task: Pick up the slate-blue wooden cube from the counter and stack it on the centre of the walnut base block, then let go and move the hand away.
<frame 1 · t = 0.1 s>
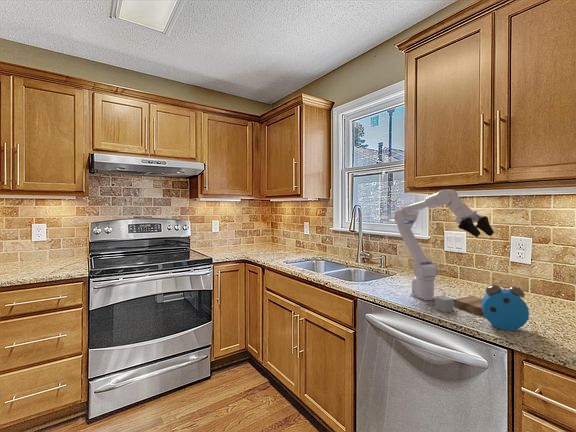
hand: (485, 234, 118), 32 cm above the countertop, tool tilted 50°, fingers open, 7 cm apart
walnut base: (476, 308, 129), on the countertop
slate cube: (444, 309, 129), on the countertop
alarm clock: (503, 328, 110), on the countertop
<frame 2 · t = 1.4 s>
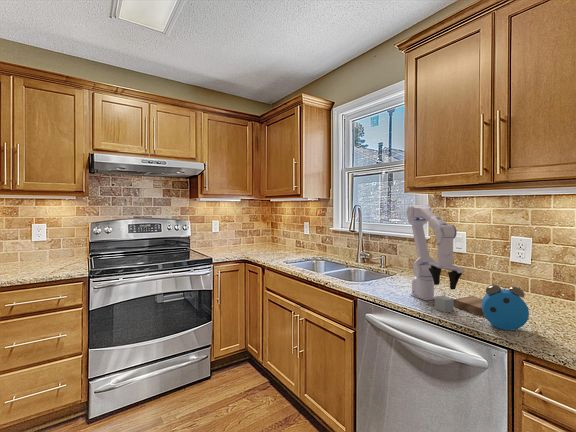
hand: (444, 286, 128), 9 cm above the countertop, tool pointing down, fingers open, 7 cm apart
nothing on the countertop moved.
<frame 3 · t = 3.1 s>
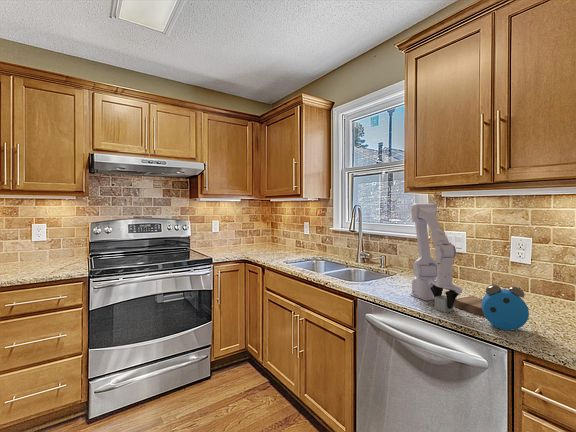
hand: (444, 306, 128), 1 cm above the countertop, tool pointing down, fingers closed on slate cube, 5 cm apart
slate cube: (444, 309, 129), on the countertop, touching gripper
everything else where it was.
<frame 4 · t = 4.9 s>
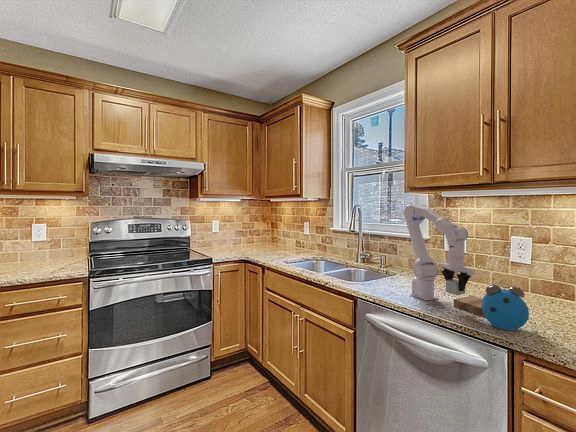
hand: (455, 289, 128), 8 cm above the countertop, tool pointing down, fingers closed on slate cube, 5 cm apart
slate cube: (455, 292, 128), point 7 cm above the countertop, touching gripper
everything else where it was.
when the fingers open (5 cm above the countertop, at t = 6.5 s): slate cube stays where it is, resting on walnut base.
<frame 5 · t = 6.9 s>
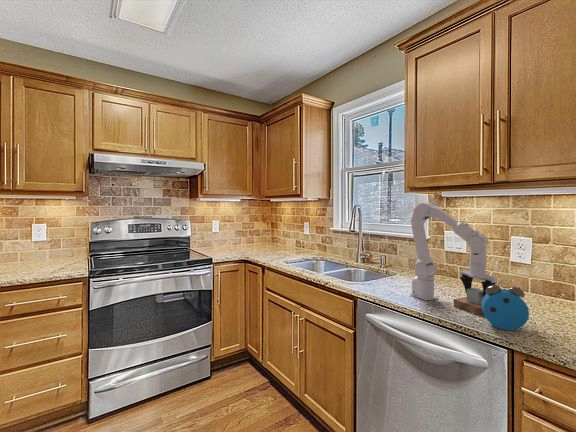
hand: (476, 295, 129), 5 cm above the countertop, tool pointing down, fingers open, 7 cm apart
slate cube: (476, 301, 129), point 3 cm above the countertop, touching walnut base
everything else where it was.
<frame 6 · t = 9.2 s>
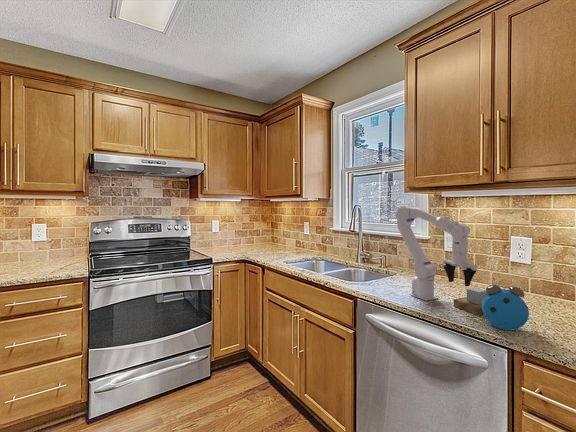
hand: (459, 283, 133), 9 cm above the countertop, tool pointing down, fingers open, 7 cm apart
nothing on the countertop moved.
at the end: slate cube inside the target area on the walnut base (0.3 cm from its centre), point 3.0 cm above the walnut base's base; slate cube tilted 0°; the gripper is holding nothing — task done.
